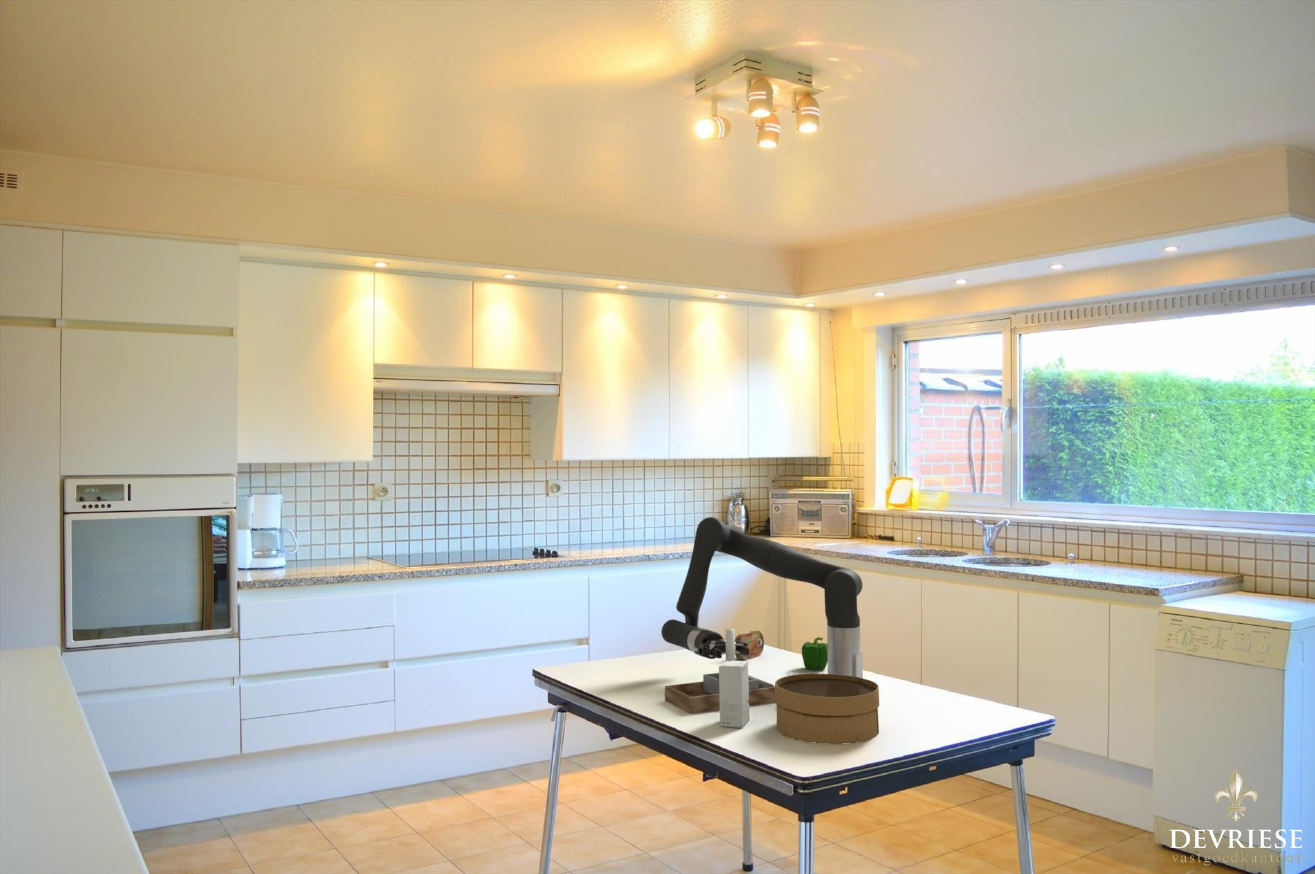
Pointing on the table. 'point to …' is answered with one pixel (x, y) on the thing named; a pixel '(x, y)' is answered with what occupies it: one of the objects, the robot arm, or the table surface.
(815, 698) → the steamer basket
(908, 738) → the table surface
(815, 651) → the bell pepper
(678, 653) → the table surface
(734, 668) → the skincare box
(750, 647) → the tin
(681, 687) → the bay
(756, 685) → the tray with upright post
